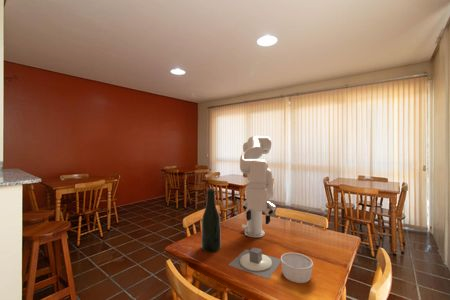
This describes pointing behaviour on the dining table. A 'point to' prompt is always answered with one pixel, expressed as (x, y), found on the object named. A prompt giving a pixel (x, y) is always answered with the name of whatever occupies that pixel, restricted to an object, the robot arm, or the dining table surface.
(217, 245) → the green wine bottle
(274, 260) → the mat
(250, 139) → the robot arm
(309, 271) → the ramekin
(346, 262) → the dining table surface
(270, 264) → the lid
